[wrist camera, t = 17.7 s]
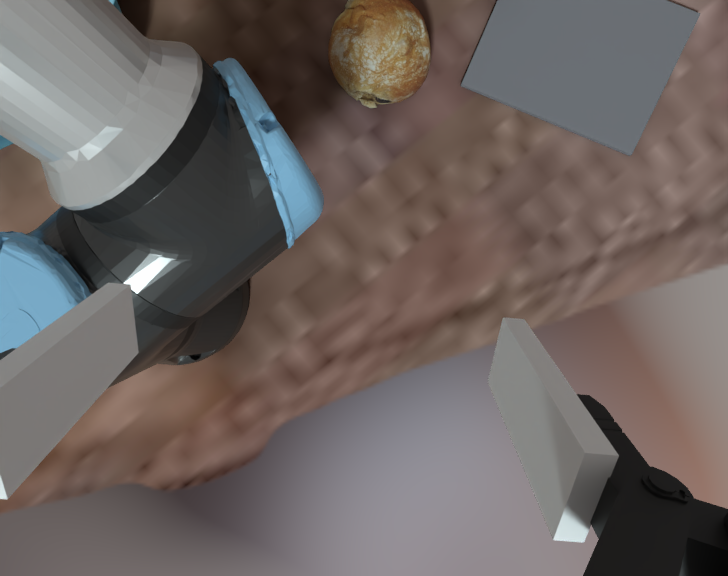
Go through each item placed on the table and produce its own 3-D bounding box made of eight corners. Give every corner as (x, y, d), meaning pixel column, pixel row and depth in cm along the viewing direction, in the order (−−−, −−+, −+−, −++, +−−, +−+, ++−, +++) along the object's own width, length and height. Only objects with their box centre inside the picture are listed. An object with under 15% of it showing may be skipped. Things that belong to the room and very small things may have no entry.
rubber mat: (460, 85, 45) (461, 84, 45) (521, -54, 44) (522, -58, 43) (629, 155, 45) (631, 154, 44) (696, 16, 43) (700, 13, 43)
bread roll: (337, 104, 50) (329, 118, 43) (325, -6, 45) (314, -10, 38) (428, 96, 49) (434, 109, 42) (426, -17, 44) (433, -24, 37)
